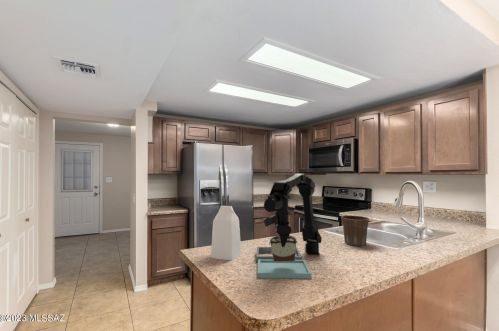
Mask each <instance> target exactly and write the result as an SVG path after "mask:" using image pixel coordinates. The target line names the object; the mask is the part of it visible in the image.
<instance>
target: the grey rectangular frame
mask: <svg viewBox="0 0 499 331" xmlns="http://www.w3.org/2000/svg"><path fill="white" fill-rule="evenodd" d="M255 253H256V254H255V262H256V263H255V264H258V259H270V260H273V255H260V254H272V249H271V246H257V247H256V252H255ZM295 260H303V255H302V254H301V251H300V249H299V247H298V246H296V255H295Z"/></svg>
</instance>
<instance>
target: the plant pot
mask: <svg viewBox="0 0 499 331" xmlns="http://www.w3.org/2000/svg"><path fill="white" fill-rule="evenodd" d="M340 218H341V223H342V228H343V238H344V240H343V241H344V243H345V244H346V245H347V246H352V247H353V246H356V247H365V246H366V245H367V237H368V226H369V222H370V217H367V216H364V215H363V216H362V215H349V214H348V215H342V216H341V217H340Z"/></svg>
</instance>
